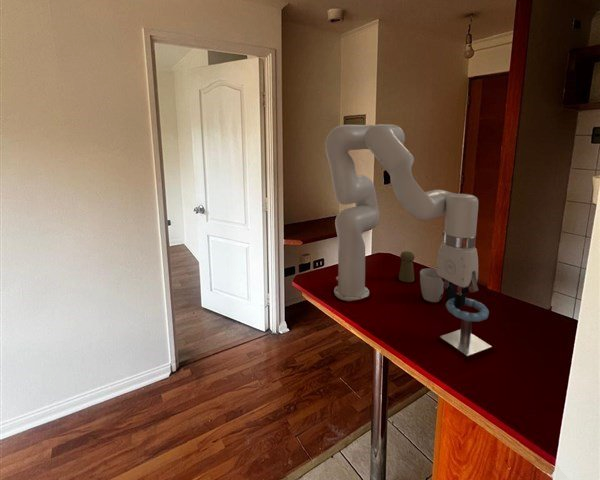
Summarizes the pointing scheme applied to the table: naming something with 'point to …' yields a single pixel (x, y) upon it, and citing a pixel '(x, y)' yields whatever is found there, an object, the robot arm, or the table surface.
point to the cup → (431, 285)
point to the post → (465, 340)
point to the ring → (464, 315)
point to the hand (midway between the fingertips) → (454, 303)
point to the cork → (406, 267)
